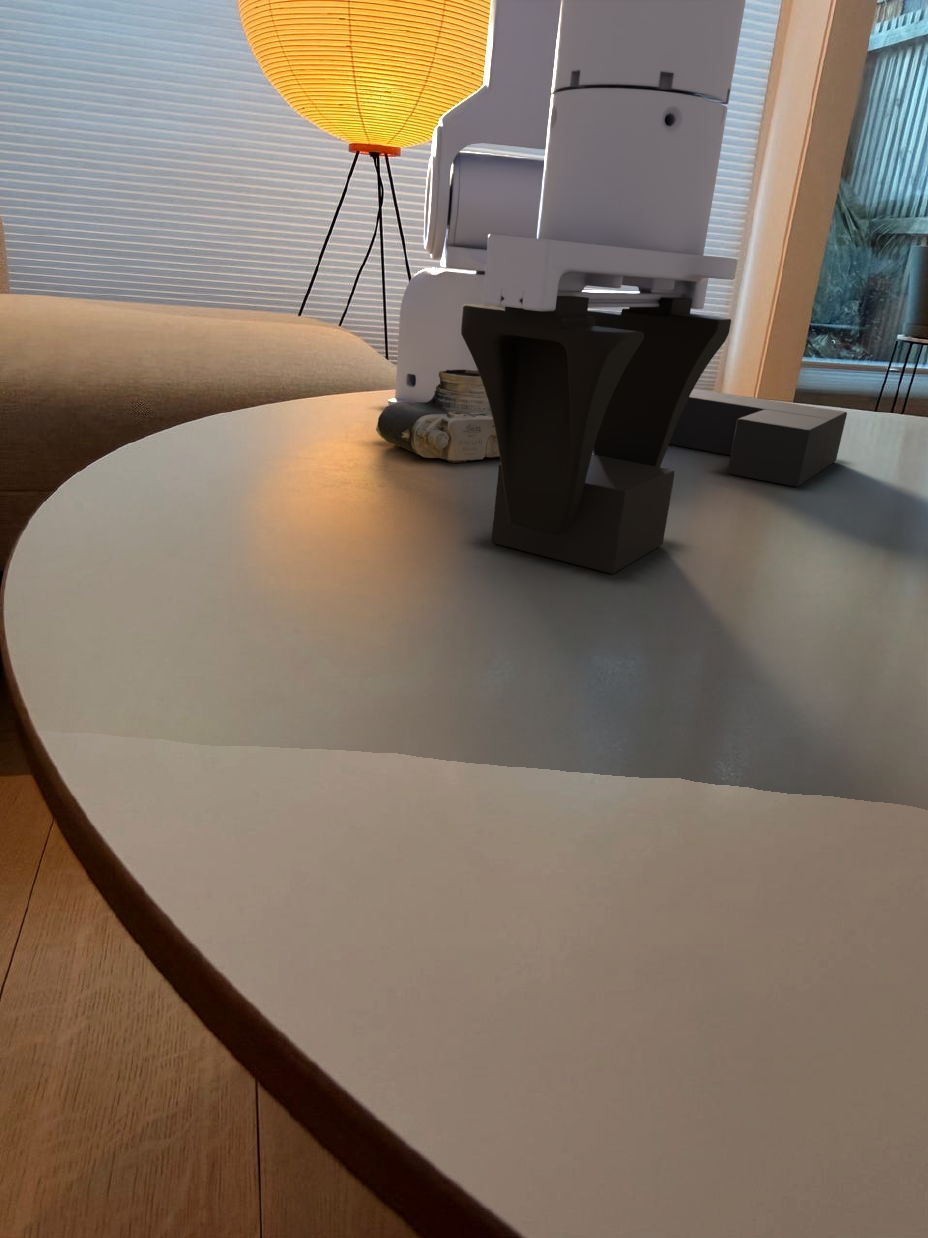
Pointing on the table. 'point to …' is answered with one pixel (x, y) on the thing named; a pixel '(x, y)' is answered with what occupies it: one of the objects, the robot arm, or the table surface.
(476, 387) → the camera
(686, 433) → the base pad
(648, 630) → the table surface
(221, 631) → the table surface
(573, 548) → the pad piece
